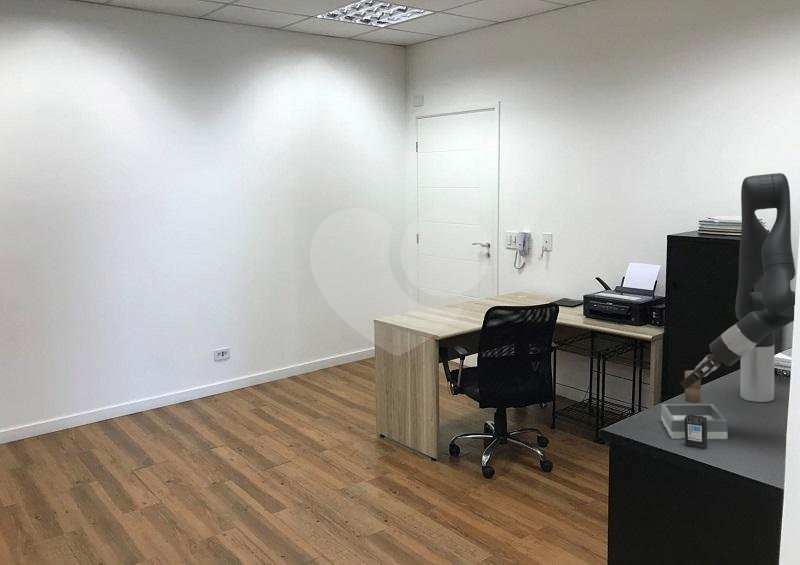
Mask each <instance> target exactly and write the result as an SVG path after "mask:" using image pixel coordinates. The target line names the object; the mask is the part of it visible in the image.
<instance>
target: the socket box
mask: <svg viewBox="0 0 800 565" xmlns="http://www.w3.org/2000/svg"><path fill="white" fill-rule="evenodd" d="M660 405H661V407H660V411H661V414H660V416H661V417H660V418H661V422H663V423H662V425H663V426H664V428H665V427H666V428H665V430H666V429H667V430H666V431H668V432H667V434H668V435H669V436H671V437H670V438H672V439H671V440H675V439H676V440H681V438H682V440H685V424H684V420H685V417H686V416H687V415H695V416H703V417H706V418H707V440H728V420H727V419H726V417H725V416H724V415H723V413H721V412H720V410H718V408H717V407H716V405H714V403H686V404H685V403H684V404H683V403H682V404H681V403H672V404H671V403H662V404H660ZM683 438H684V439H683Z"/></svg>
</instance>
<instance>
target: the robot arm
mask: <svg viewBox="0 0 800 565" xmlns="http://www.w3.org/2000/svg"><path fill="white" fill-rule="evenodd" d="M740 201H741V202H740V207H741V210H740V212H741V232H740V242H739V252H738V253H739V254H738V255H739V256H738V284H737V291H736V297H735V308H734V310H735V316H736V319H737V320H738V321H737V322H736V323H735V324H734V325H732V326H731V327H729V328H728V329H726V330H725V331H724V332H722V333H721V334H720V335H719V336H717V338H715V340H714V341H712V342H711V343H710V344H709V350H710V352H711V353H709V354H708V355H706V356H705V357H704V358H703V359H702V360H701V361H700V362H699V363H698V365H696V366H695V368H694V370H692V371H693V372H691V373H690V375H689V376H688V377H687V378H685V377H684V379H682V381H681V382H680V386H681V387H682V388H684V390H685V389H687V388H688V387H690V386H691V385H692V384H693V383H694V382H697V381H699V380H700V379H701V380H702V378H703V377H707V376H708V375H709V374H710V373H712V372H713V371H716V370H717V369H718V368H719V367H720V366H721V365H722V364H723V365H725V366H727V367H731V366H733V365H735V363H737V362H738V361H739V360H740V390H739V392H740V394H739V395H740V398H741V399H742V400H745V401H748V402H749V401H750V402H756V403H767V402H772V401H773V400H775V344H776V343H775V333H776V332H775V331H777V330H780V329H782V328H783V327H785V326H787V325H789V324H791V323H792V322H794V321H795V320H794V305H795V292H796V291H794V290H792V288H791V281H793V279H794V278H795V277H796V266H795V259H794V255H793V254H794V253H793V247H792V237H791V236H792V217H791V216H792V215H791V214H792V213H791V192H790V185H789V181H788V178H787V176H786V175H785V173H783V172H782V173H781V172H778V173H776V172H775V173H766V174H758V175H751V176H746V177H745V178H744V179H743V181H742V183H741V188H740ZM768 209H776V218H775V221H774V224H773V225H772V228H771V230H770V231H768V229H766V227H765V226H764V225H763V224H762V223H761V221H760V220H759V219H758V217H757V215H756V211H760V210H768ZM762 279H763V283H762V284H763V285H762V291H753V289H754V287H755V286H756V285H757V284H758V283H759V282H760V281H761V280H762ZM721 363H722V364H721ZM695 373H697V374H698V375H699V377H698V376H697V375H696V374H695Z"/></svg>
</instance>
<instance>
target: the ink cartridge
mask: <svg viewBox="0 0 800 565" xmlns="http://www.w3.org/2000/svg"><path fill="white" fill-rule="evenodd" d="M684 424H685V439H684V445H685V446H686V447H691V448H697V449H701V450H702V449H703V450H704V449H706V448H707V446H708V439H707V418H706V417H703V416H695V415H687V416H686V417H685V420H684Z"/></svg>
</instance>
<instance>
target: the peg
mask: <svg viewBox="0 0 800 565" xmlns="http://www.w3.org/2000/svg"><path fill="white" fill-rule="evenodd" d="M693 371H694V370H685V371H684V379H685V378H687V377H688V376H689V375H690V373H691V372H693ZM695 374H696V375H697V376H698V377H699V375H698V374H697V373H695ZM701 381H702V378H701V379H700V380H699V381H697V382H694V383H693V384H692V385H691V386H690V387H688V388H687V389H685V388H684V401H685V402H687V403H689V404H700V403H701V402H702V398H701V396H702V392H701V391H702V390H701V389H702V386H701V384H702V382H701Z"/></svg>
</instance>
